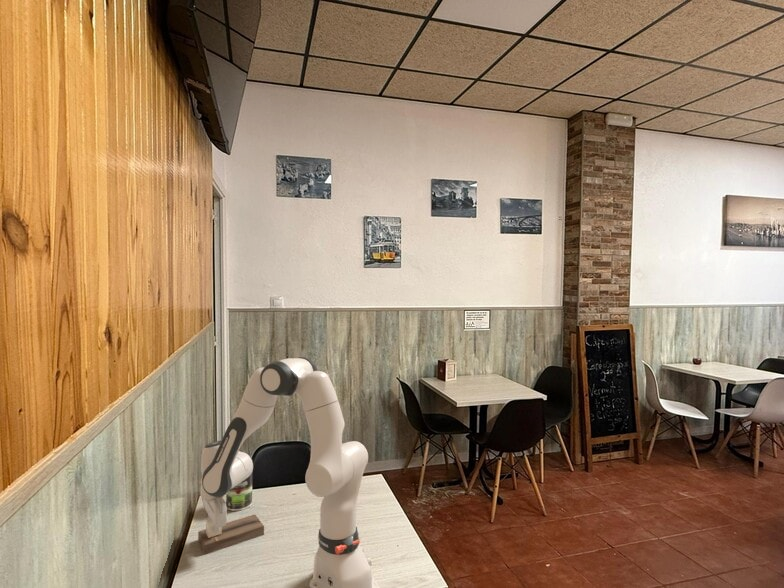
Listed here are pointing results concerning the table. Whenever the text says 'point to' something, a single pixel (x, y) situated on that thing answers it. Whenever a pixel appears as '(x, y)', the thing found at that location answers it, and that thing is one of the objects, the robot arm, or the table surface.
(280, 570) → the table surface
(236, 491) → the coffee can
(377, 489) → the table surface
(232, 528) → the brown slider board
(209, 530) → the fader tab
